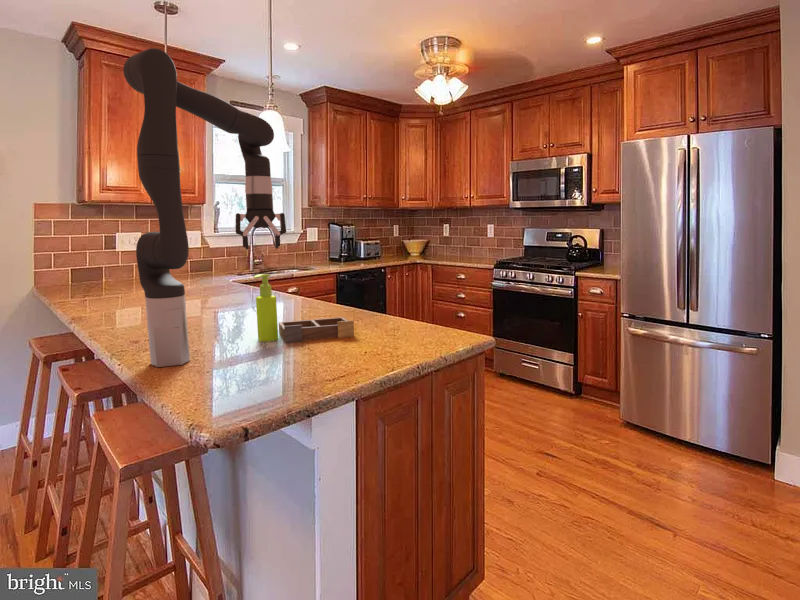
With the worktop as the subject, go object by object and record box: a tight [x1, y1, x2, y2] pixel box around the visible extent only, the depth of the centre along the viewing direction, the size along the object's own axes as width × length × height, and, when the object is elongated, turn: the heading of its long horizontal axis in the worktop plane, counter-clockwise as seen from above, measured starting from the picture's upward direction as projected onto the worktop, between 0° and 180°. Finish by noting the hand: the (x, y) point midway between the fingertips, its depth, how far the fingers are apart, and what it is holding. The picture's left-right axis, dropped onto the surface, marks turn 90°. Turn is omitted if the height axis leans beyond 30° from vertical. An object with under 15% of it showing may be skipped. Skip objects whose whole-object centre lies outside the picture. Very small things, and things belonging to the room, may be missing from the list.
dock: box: [278, 316, 355, 344], centre depth 162 cm, size 13×21×5 cm, turn 111°
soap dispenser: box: [253, 273, 279, 343], centre depth 155 cm, size 6×7×20 cm
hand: (262, 248), depth 153 cm, fingers open, 8 cm apart
